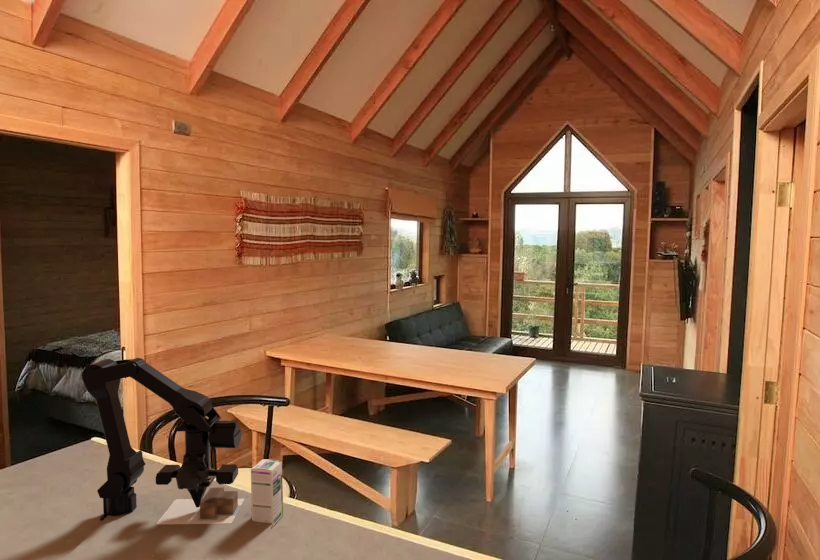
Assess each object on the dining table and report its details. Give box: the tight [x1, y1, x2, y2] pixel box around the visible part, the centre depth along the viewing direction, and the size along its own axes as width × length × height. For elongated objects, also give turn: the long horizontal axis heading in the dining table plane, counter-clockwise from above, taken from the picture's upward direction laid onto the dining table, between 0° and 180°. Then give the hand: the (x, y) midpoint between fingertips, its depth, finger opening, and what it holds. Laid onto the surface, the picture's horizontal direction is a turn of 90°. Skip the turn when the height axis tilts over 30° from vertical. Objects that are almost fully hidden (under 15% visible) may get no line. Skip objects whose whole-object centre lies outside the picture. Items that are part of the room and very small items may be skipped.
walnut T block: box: [200, 487, 239, 519], centre depth 133 cm, size 8×8×4 cm
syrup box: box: [250, 459, 284, 528], centre depth 130 cm, size 6×6×14 cm
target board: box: [155, 498, 245, 525], centre depth 132 cm, size 18×12×1 cm, turn 93°
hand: (198, 506), depth 132 cm, fingers closed
